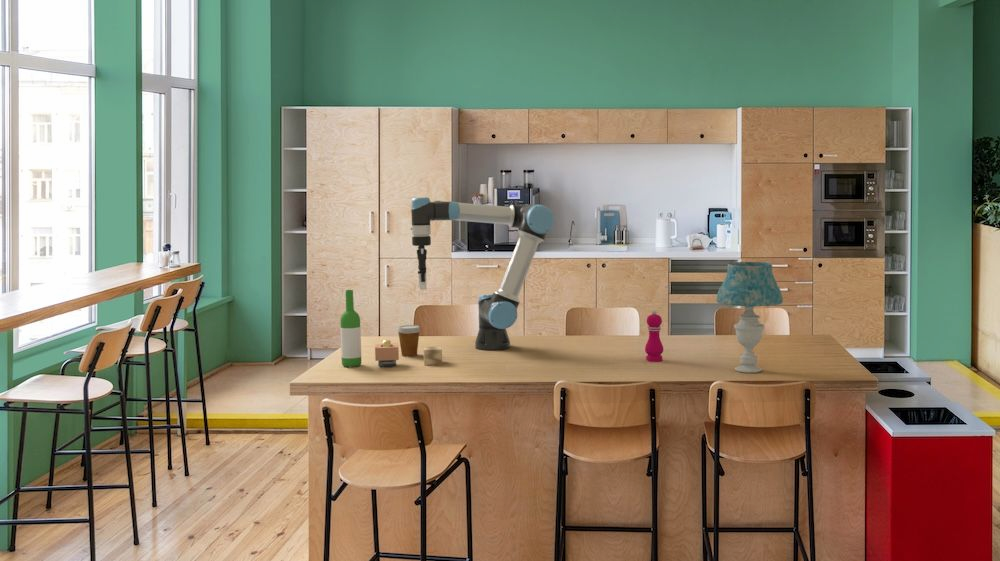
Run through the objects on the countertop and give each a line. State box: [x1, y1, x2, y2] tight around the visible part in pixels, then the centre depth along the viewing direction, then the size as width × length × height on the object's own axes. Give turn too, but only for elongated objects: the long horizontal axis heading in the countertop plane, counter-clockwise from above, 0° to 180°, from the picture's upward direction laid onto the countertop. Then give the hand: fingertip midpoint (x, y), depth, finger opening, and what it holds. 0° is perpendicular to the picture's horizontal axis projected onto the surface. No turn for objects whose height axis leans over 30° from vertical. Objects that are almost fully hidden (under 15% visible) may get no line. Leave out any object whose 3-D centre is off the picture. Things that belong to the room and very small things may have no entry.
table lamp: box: [716, 261, 784, 374], centre depth 366 cm, size 24×24×40 cm
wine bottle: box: [339, 289, 362, 368], centre depth 389 cm, size 8×8×30 cm
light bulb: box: [377, 339, 397, 369], centre depth 388 cm, size 7×7×10 cm
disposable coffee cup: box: [396, 324, 421, 357], centre depth 410 cm, size 10×10×12 cm
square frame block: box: [374, 342, 400, 362], centre depth 388 cm, size 9×9×5 cm
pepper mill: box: [644, 310, 664, 363], centre depth 390 cm, size 7×7×20 cm
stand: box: [423, 346, 443, 366], centre depth 392 cm, size 7×7×6 cm
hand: (422, 287), depth 402 cm, fingers open, 13 cm apart
